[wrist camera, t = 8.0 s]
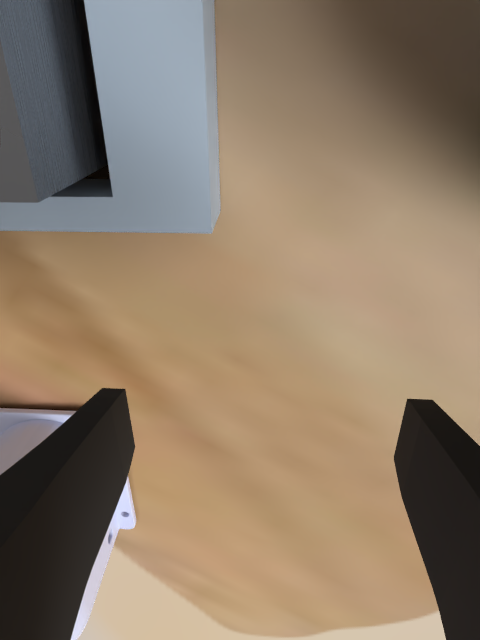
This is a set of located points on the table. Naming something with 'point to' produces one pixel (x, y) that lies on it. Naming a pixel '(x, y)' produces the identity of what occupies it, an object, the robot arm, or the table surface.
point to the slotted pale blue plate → (145, 125)
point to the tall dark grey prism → (46, 99)
